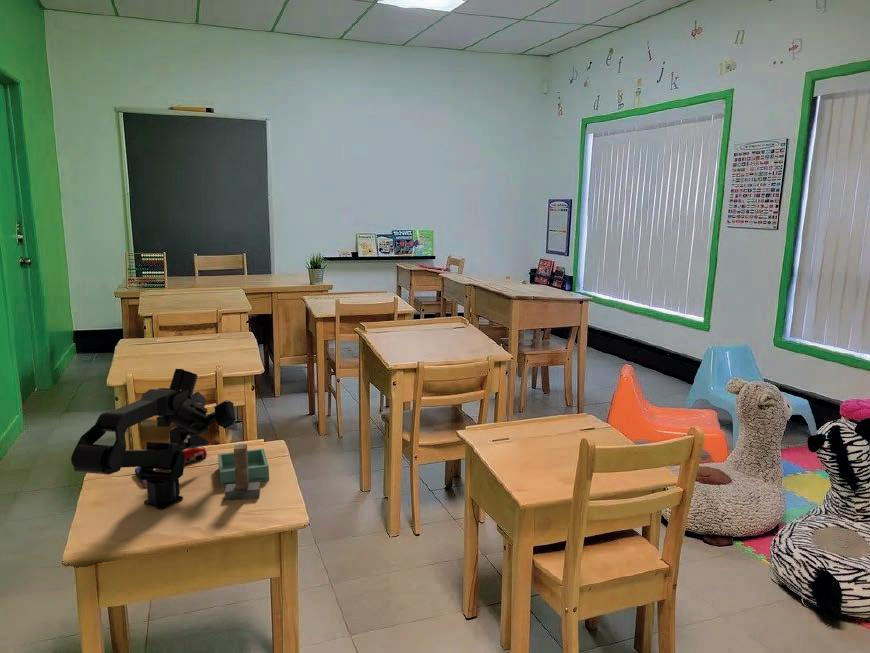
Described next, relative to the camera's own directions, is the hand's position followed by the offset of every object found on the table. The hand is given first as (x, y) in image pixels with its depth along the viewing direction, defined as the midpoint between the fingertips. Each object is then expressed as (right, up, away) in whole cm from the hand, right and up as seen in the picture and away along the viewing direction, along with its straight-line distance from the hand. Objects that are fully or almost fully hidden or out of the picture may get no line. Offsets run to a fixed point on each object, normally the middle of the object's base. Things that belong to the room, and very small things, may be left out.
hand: (222, 436), depth 174 cm
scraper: (+10, -12, -15) cm, 22 cm away
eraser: (-18, -11, -6) cm, 21 cm away
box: (+6, -10, -3) cm, 12 cm away
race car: (-13, -8, +4) cm, 16 cm away
